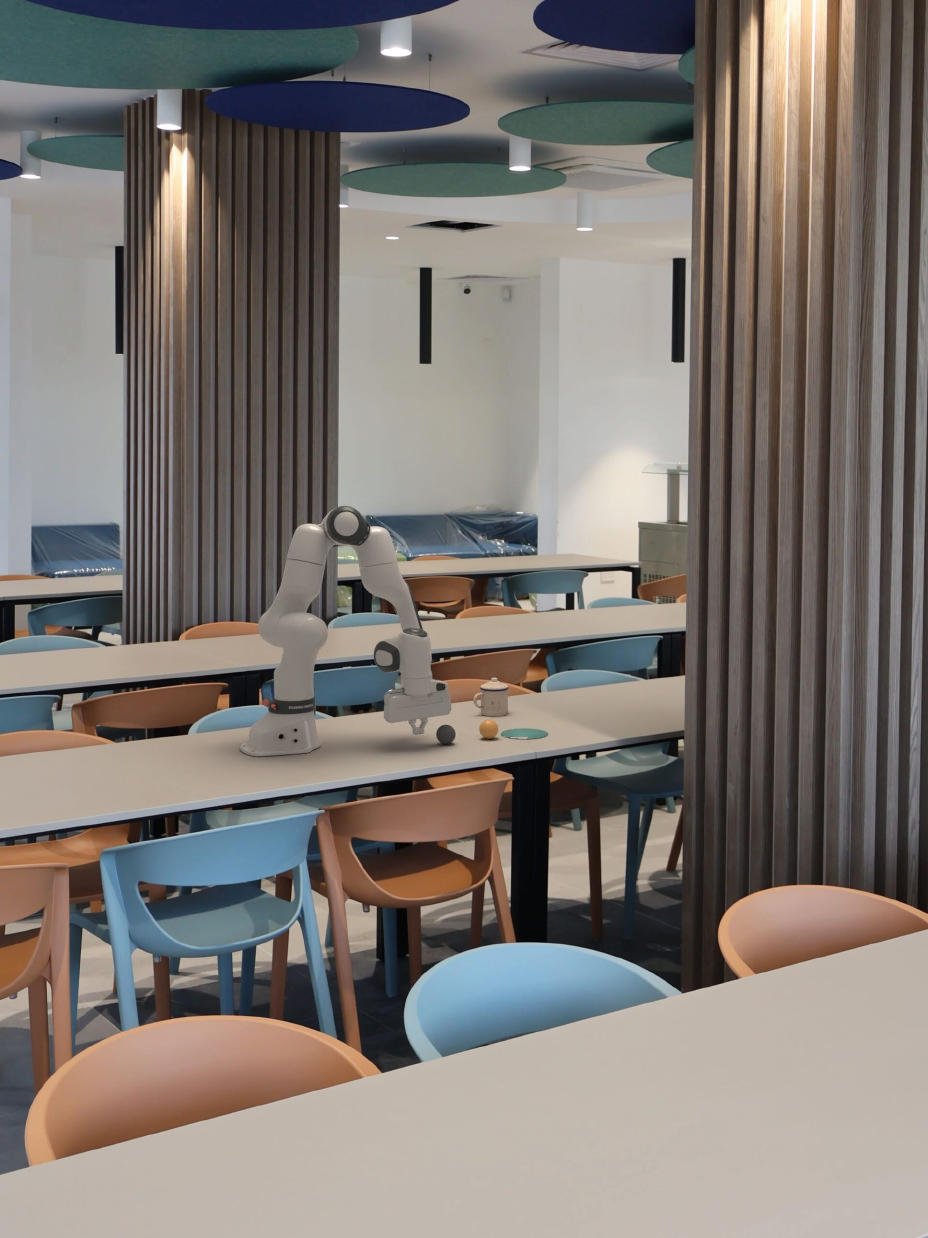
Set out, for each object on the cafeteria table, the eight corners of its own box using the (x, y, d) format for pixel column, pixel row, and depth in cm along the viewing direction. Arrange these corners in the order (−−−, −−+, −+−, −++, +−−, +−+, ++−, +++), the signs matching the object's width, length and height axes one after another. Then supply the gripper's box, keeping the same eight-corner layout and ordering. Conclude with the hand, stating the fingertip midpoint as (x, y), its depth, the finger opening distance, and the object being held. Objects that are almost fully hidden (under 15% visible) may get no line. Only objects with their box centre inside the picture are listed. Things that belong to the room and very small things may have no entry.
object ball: (485, 741, 367) (484, 722, 366) (475, 737, 372) (475, 719, 371) (501, 739, 370) (501, 720, 369) (492, 735, 375) (492, 717, 374)
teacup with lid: (499, 710, 412) (499, 674, 410) (513, 715, 404) (513, 678, 403) (467, 714, 406) (466, 678, 405) (481, 719, 398) (480, 682, 397)
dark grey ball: (441, 747, 361) (441, 727, 360) (432, 743, 366) (432, 724, 365) (459, 744, 363) (459, 725, 363) (450, 741, 368) (450, 722, 368)
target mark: (515, 741, 367) (515, 740, 367) (492, 732, 379) (492, 731, 379) (557, 736, 374) (557, 735, 374) (532, 727, 386) (532, 726, 386)
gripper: (388, 692, 351) (390, 741, 353) (453, 683, 361) (454, 731, 363) (378, 688, 357) (380, 737, 359) (442, 680, 367) (444, 727, 369)
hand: (418, 734), depth 361 cm, fingers closed
